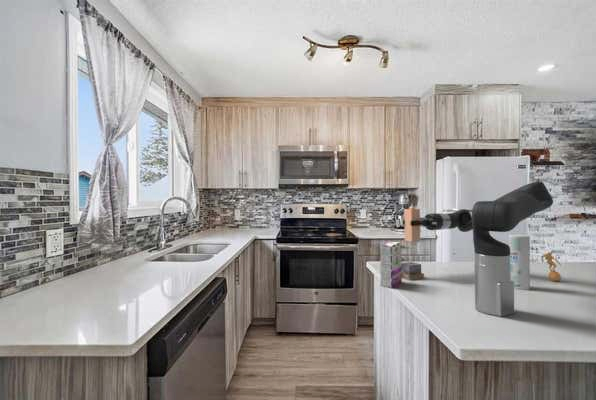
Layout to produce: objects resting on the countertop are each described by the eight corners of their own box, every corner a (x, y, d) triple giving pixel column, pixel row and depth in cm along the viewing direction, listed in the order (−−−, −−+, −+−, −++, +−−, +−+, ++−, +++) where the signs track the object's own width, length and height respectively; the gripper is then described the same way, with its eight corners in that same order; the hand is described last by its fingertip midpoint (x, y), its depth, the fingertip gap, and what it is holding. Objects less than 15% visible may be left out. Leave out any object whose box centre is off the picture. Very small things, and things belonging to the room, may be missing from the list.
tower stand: (424, 278, 132) (423, 264, 132) (409, 280, 129) (409, 266, 129) (410, 274, 140) (410, 261, 140) (396, 276, 137) (396, 262, 137)
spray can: (534, 289, 114) (534, 236, 114) (517, 290, 114) (516, 236, 114) (521, 285, 121) (521, 234, 121) (505, 285, 121) (504, 234, 121)
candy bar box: (390, 280, 129) (389, 241, 129) (401, 282, 126) (401, 242, 126) (379, 286, 120) (379, 244, 120) (392, 288, 117) (391, 245, 117)
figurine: (568, 283, 123) (568, 253, 123) (555, 284, 122) (554, 253, 122) (549, 278, 131) (549, 250, 131) (536, 278, 130) (536, 250, 130)
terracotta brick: (420, 241, 133) (419, 207, 133) (411, 241, 131) (411, 207, 131) (412, 240, 137) (412, 207, 137) (404, 240, 136) (404, 207, 136)
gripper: (425, 212, 146) (396, 213, 140) (450, 213, 133) (418, 214, 127) (425, 228, 146) (396, 230, 140) (450, 231, 133) (419, 233, 127)
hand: (407, 222), depth 133 cm, fingers closed on terracotta brick, 4 cm apart
